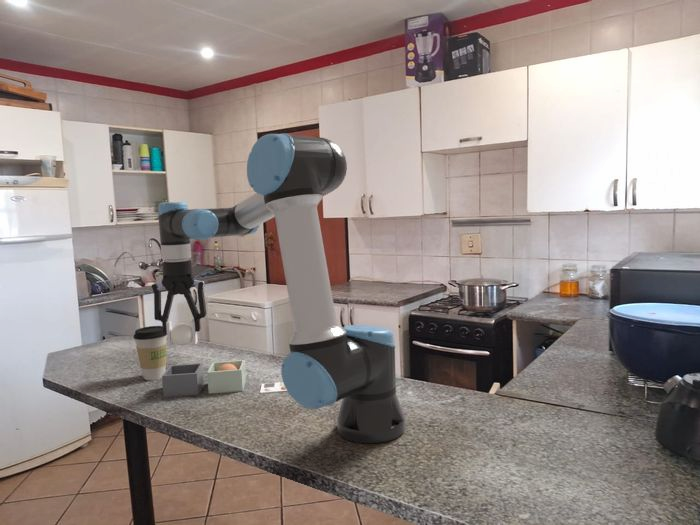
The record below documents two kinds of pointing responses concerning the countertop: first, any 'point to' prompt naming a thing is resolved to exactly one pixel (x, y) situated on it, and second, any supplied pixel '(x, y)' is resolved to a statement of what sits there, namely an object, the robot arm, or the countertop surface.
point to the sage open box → (226, 377)
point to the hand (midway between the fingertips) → (182, 343)
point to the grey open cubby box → (183, 380)
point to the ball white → (181, 334)
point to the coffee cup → (151, 351)
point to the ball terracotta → (227, 367)
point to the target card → (273, 387)
